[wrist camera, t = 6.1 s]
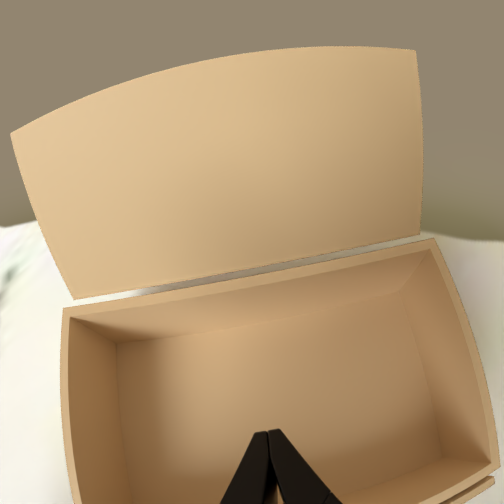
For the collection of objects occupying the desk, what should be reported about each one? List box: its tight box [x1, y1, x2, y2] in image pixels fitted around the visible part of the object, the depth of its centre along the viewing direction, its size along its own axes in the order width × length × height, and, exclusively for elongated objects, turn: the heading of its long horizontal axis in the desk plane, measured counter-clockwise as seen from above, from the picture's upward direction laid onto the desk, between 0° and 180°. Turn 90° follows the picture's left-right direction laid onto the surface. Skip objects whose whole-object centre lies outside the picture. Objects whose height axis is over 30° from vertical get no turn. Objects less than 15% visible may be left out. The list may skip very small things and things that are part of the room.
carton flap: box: [10, 46, 423, 300], centre depth 13 cm, size 10×20×1 cm
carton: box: [60, 238, 500, 504], centre depth 14 cm, size 15×22×6 cm
